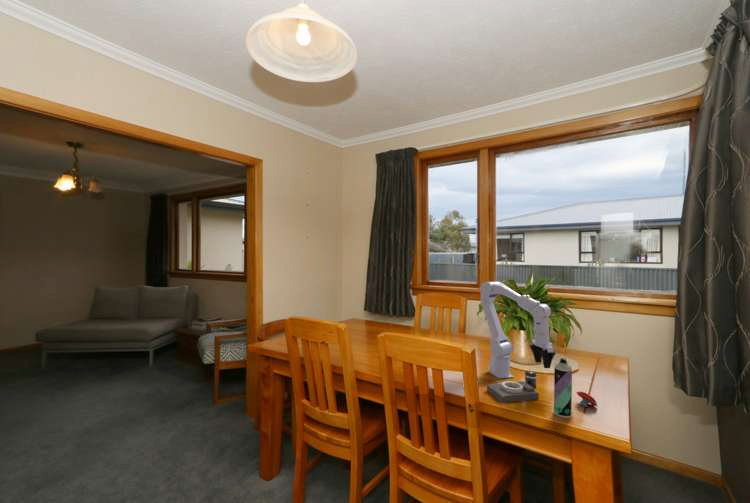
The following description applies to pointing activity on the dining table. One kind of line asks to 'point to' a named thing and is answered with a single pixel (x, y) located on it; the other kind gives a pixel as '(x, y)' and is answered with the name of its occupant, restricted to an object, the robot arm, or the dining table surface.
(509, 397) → the camera body
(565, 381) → the spray can
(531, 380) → the lens
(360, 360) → the dining table surface
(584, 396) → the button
